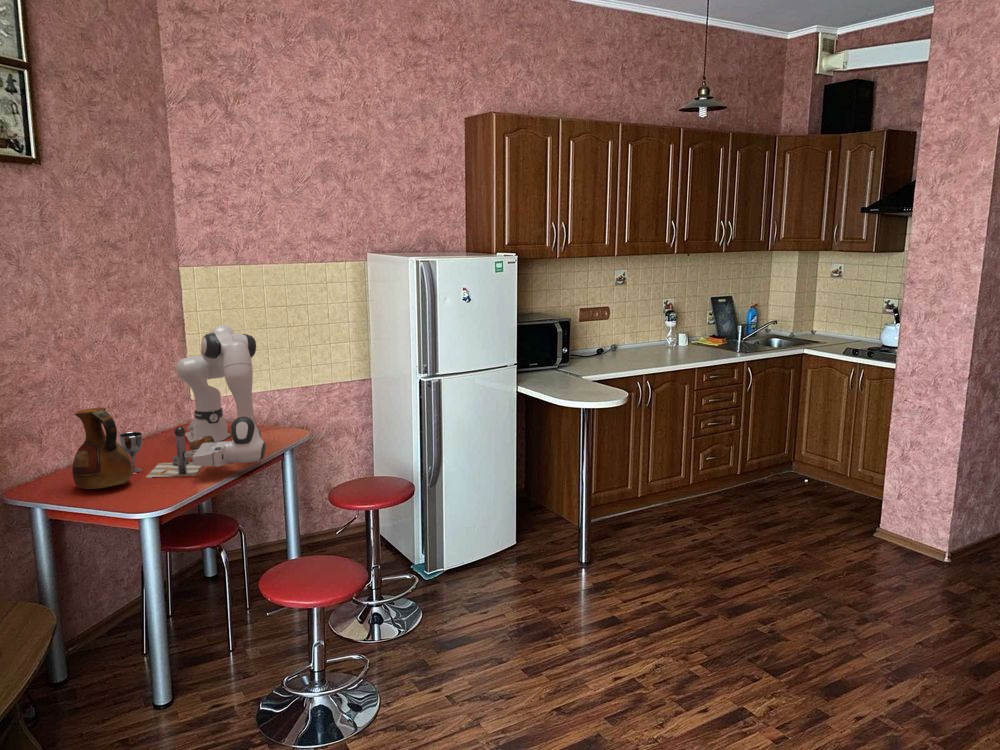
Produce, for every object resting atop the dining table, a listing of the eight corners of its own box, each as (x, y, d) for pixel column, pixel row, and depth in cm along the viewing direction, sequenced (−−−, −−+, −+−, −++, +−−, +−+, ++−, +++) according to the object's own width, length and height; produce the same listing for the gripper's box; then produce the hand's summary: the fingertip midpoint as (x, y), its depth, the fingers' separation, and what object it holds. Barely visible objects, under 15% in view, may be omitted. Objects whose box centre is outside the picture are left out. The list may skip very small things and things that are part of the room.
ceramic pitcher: (106, 475, 299) (99, 400, 293) (145, 482, 291) (139, 405, 286) (61, 490, 281) (53, 411, 275) (102, 498, 273) (95, 416, 268)
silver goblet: (148, 470, 306) (146, 433, 303) (129, 475, 299) (126, 438, 296) (137, 466, 310) (134, 430, 307) (118, 471, 304) (115, 434, 301)
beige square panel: (159, 464, 313) (158, 462, 313) (205, 462, 316) (205, 461, 316) (146, 478, 296) (145, 476, 296) (195, 476, 298) (194, 474, 298)
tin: (195, 462, 317) (194, 442, 315) (188, 462, 317) (187, 442, 316) (215, 452, 331) (214, 433, 330) (209, 452, 332) (208, 433, 330)
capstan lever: (172, 461, 314) (169, 417, 310) (188, 460, 316) (185, 416, 313) (174, 474, 297) (171, 428, 294) (191, 473, 299) (188, 427, 296)
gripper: (226, 438, 310) (190, 439, 308) (217, 452, 290) (178, 453, 288) (227, 453, 311) (191, 454, 309) (218, 468, 292) (179, 469, 289)
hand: (185, 454), depth 298 cm, fingers closed, pressing on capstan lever
